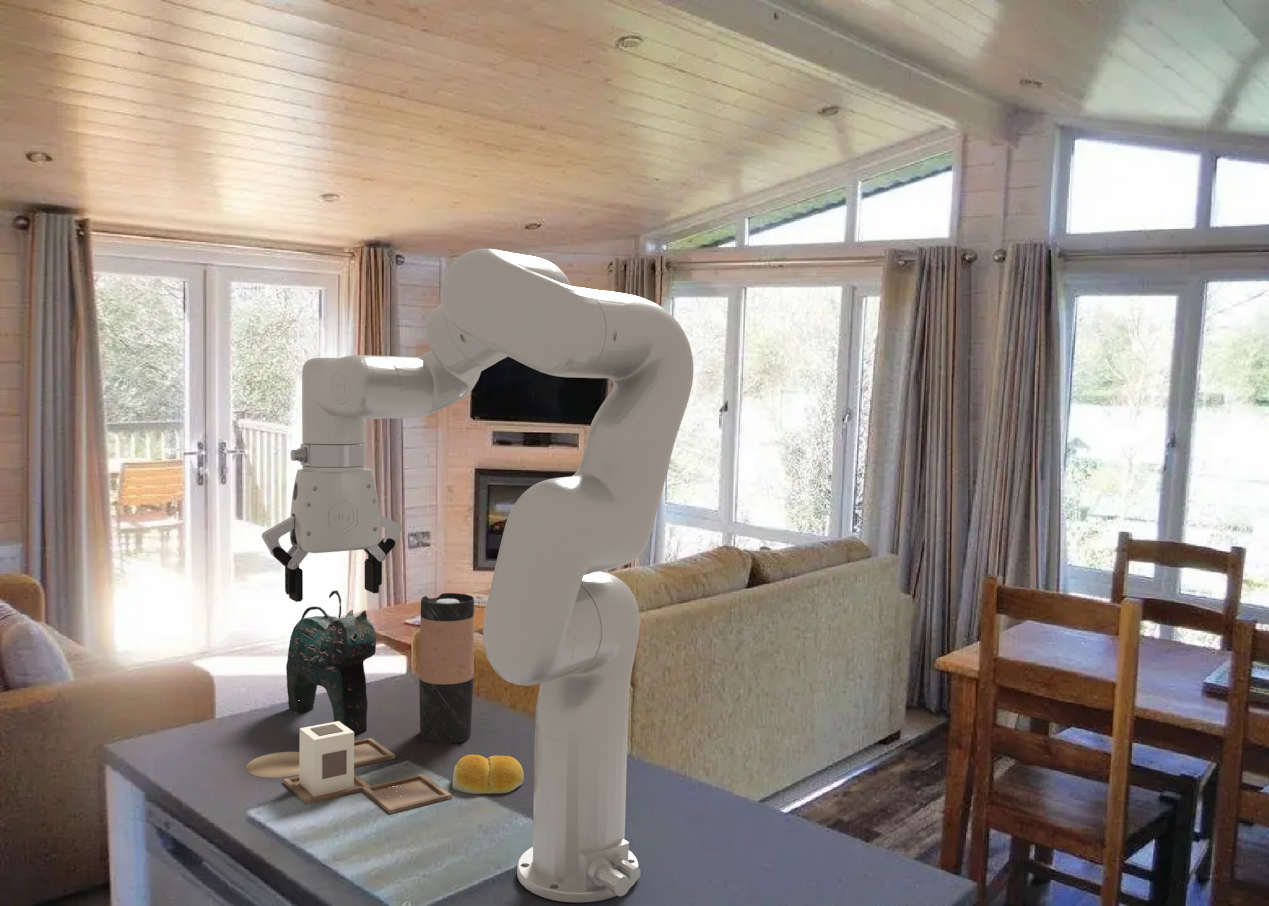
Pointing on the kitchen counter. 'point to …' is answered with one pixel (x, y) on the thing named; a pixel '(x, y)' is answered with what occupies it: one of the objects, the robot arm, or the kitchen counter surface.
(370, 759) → the tray
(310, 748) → the white box with panels
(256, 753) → the kitchen counter surface
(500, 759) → the bread roll
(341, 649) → the ceramic cat
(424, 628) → the travel mug
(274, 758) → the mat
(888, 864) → the kitchen counter surface
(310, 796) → the tray
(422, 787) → the tray
